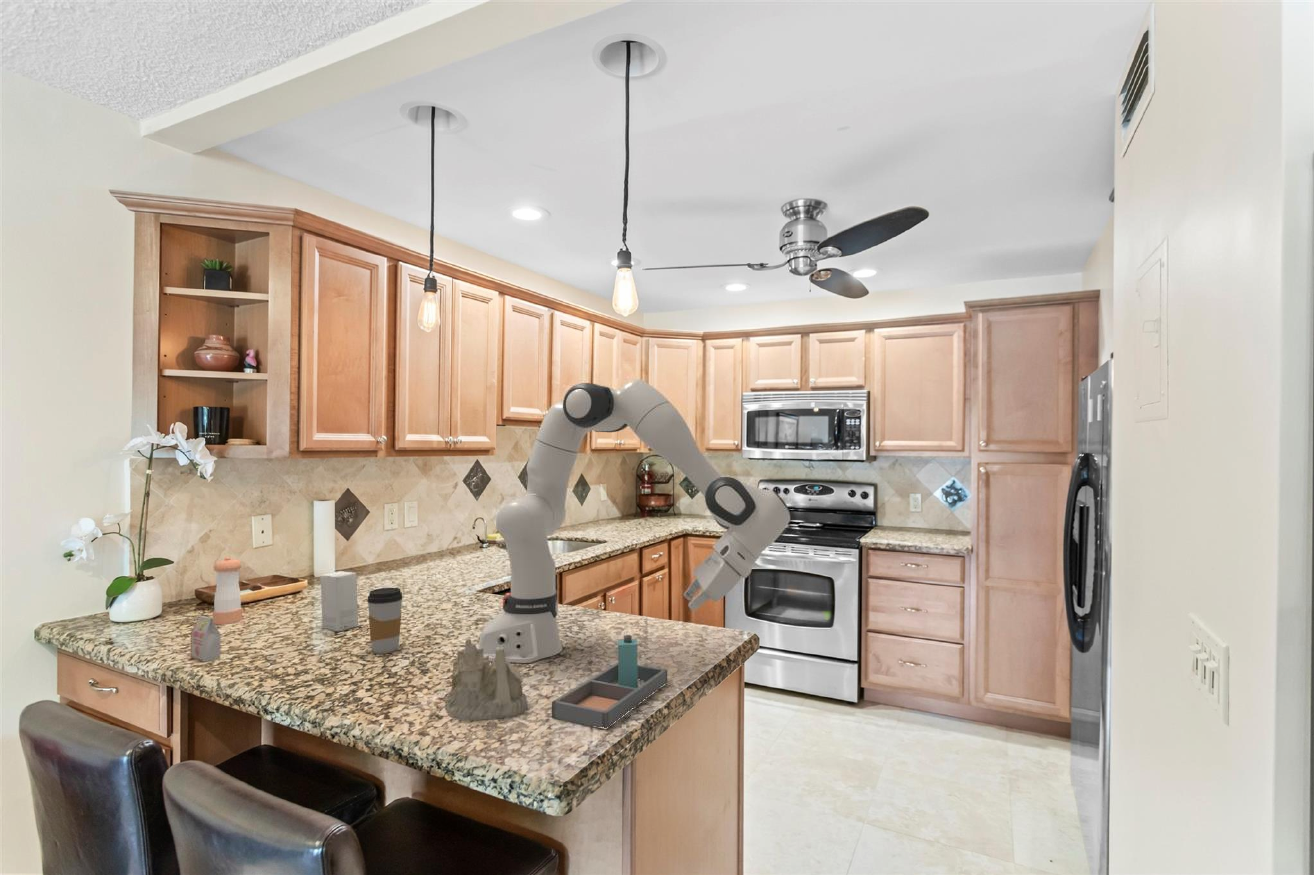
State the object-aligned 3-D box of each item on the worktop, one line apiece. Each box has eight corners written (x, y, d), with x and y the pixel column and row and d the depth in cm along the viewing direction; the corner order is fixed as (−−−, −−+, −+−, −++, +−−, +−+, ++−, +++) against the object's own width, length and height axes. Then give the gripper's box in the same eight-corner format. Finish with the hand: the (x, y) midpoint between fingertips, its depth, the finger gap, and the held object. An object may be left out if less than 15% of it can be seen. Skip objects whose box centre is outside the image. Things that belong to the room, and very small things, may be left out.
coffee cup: (408, 649, 162) (408, 590, 162) (375, 657, 156) (375, 596, 156) (394, 642, 168) (393, 585, 168) (361, 650, 162) (361, 591, 162)
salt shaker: (231, 624, 187) (231, 559, 187) (206, 624, 187) (207, 559, 188) (247, 617, 194) (247, 555, 195) (224, 618, 195) (224, 555, 195)
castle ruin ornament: (524, 717, 120) (521, 636, 121) (435, 725, 119) (433, 643, 120) (533, 691, 135) (530, 620, 137) (454, 698, 134) (452, 625, 135)
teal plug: (618, 693, 132) (618, 639, 132) (618, 686, 136) (618, 633, 136) (637, 692, 132) (637, 638, 132) (637, 685, 136) (636, 633, 136)
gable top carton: (207, 653, 161) (207, 613, 161) (220, 657, 157) (220, 617, 157) (190, 657, 157) (190, 616, 158) (203, 662, 154) (203, 620, 154)
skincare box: (358, 627, 183) (358, 572, 184) (336, 632, 178) (336, 576, 178) (341, 622, 188) (341, 570, 188) (319, 628, 182) (319, 573, 183)
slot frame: (606, 729, 115) (606, 713, 115) (551, 717, 120) (551, 701, 120) (667, 683, 137) (667, 669, 137) (619, 675, 142) (618, 661, 142)
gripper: (714, 538, 147) (673, 582, 146) (729, 552, 127) (682, 604, 126) (734, 557, 147) (693, 601, 146) (752, 574, 127) (705, 625, 126)
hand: (688, 602), depth 136 cm, fingers open, 8 cm apart
